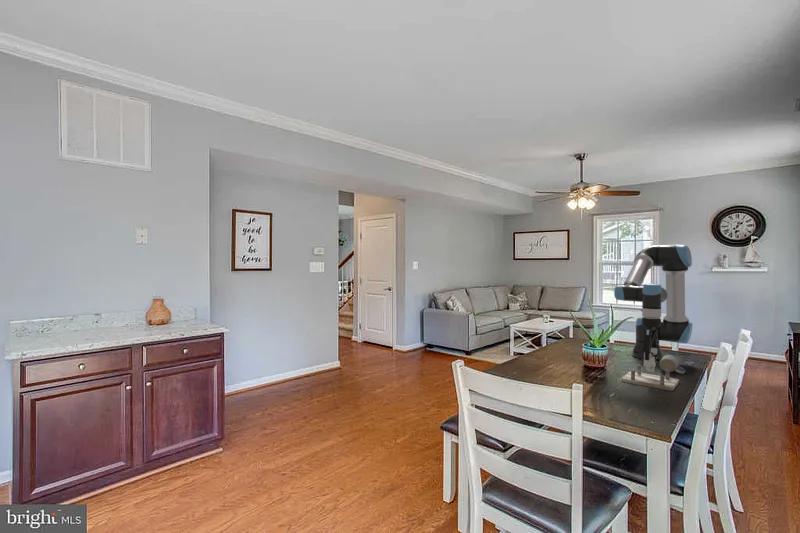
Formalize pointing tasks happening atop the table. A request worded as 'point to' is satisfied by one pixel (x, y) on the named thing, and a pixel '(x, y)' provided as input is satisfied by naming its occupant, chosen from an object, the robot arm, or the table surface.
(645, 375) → the peg board
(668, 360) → the ceramic mug
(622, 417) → the table surface
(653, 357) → the valve
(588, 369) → the table surface
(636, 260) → the robot arm
